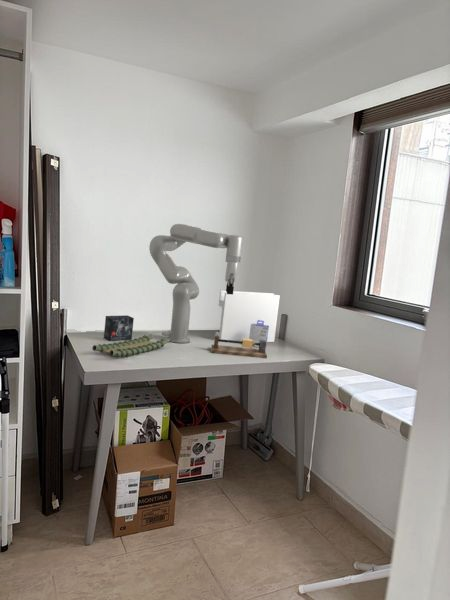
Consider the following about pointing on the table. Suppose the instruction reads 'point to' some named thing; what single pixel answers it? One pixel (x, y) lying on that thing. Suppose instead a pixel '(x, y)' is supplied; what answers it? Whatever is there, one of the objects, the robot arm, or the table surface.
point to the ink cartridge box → (259, 332)
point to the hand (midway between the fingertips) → (229, 292)
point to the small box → (118, 328)
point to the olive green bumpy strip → (130, 346)
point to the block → (247, 314)
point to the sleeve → (247, 343)
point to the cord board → (239, 348)
